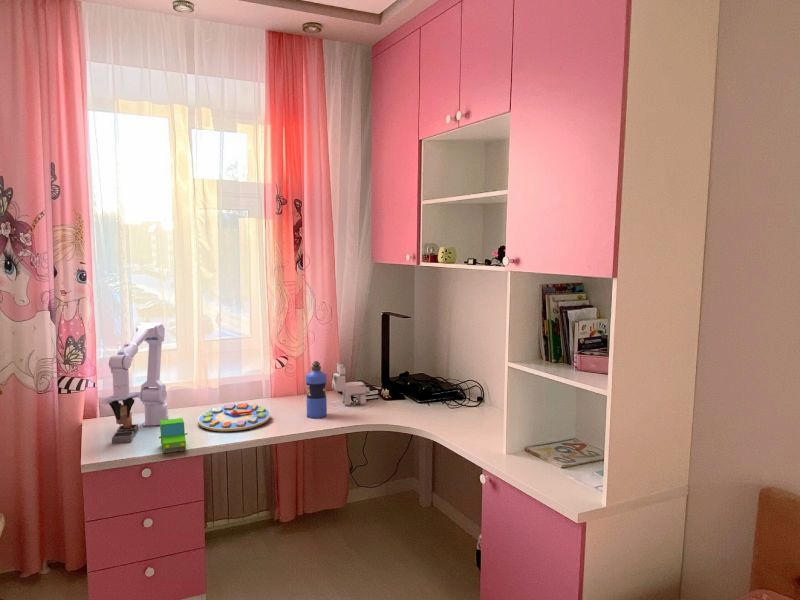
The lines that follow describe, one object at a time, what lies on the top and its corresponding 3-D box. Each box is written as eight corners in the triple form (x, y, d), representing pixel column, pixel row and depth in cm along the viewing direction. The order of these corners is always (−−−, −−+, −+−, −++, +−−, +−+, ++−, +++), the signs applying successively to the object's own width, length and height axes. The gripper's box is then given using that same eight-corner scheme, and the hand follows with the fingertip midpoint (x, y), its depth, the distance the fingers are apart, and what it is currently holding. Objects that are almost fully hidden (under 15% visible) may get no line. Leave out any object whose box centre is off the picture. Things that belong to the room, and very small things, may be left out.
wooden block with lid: (127, 422, 241) (126, 405, 241) (120, 424, 239) (119, 407, 238) (123, 421, 243) (122, 404, 243) (115, 423, 241) (115, 405, 240)
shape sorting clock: (186, 433, 252) (186, 419, 251) (212, 412, 282) (212, 400, 282) (259, 434, 250) (259, 419, 250) (277, 413, 281) (277, 401, 280)
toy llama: (370, 404, 296) (370, 363, 294) (335, 407, 291) (334, 366, 289) (367, 400, 303) (367, 361, 301) (332, 403, 298) (332, 363, 296)
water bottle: (325, 412, 282) (324, 359, 280) (328, 417, 273) (327, 363, 271) (305, 413, 279) (304, 360, 277) (307, 419, 270) (306, 364, 268)
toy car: (160, 456, 223) (159, 430, 222) (158, 446, 235) (157, 420, 234) (189, 452, 227) (188, 426, 226) (186, 442, 239) (185, 417, 238)
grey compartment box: (138, 429, 255) (137, 410, 254) (131, 442, 239) (130, 421, 238) (120, 431, 253) (119, 411, 253) (111, 443, 237) (111, 423, 236)
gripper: (133, 380, 247) (134, 412, 249) (97, 386, 236) (99, 420, 237) (142, 382, 243) (143, 415, 244) (106, 389, 232) (108, 424, 233)
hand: (122, 418), depth 240 cm, fingers closed on wooden block with lid, 3 cm apart
